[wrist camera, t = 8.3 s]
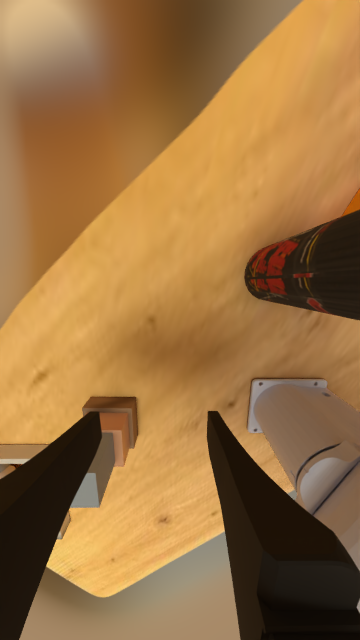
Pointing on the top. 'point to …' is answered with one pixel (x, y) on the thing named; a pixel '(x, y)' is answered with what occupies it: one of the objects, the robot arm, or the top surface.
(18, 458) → the grey tray rim
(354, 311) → the deodorant
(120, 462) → the terracotta slab
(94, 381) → the top surface
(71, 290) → the top surface
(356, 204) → the orange juice
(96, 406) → the walnut slab
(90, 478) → the slate cube
